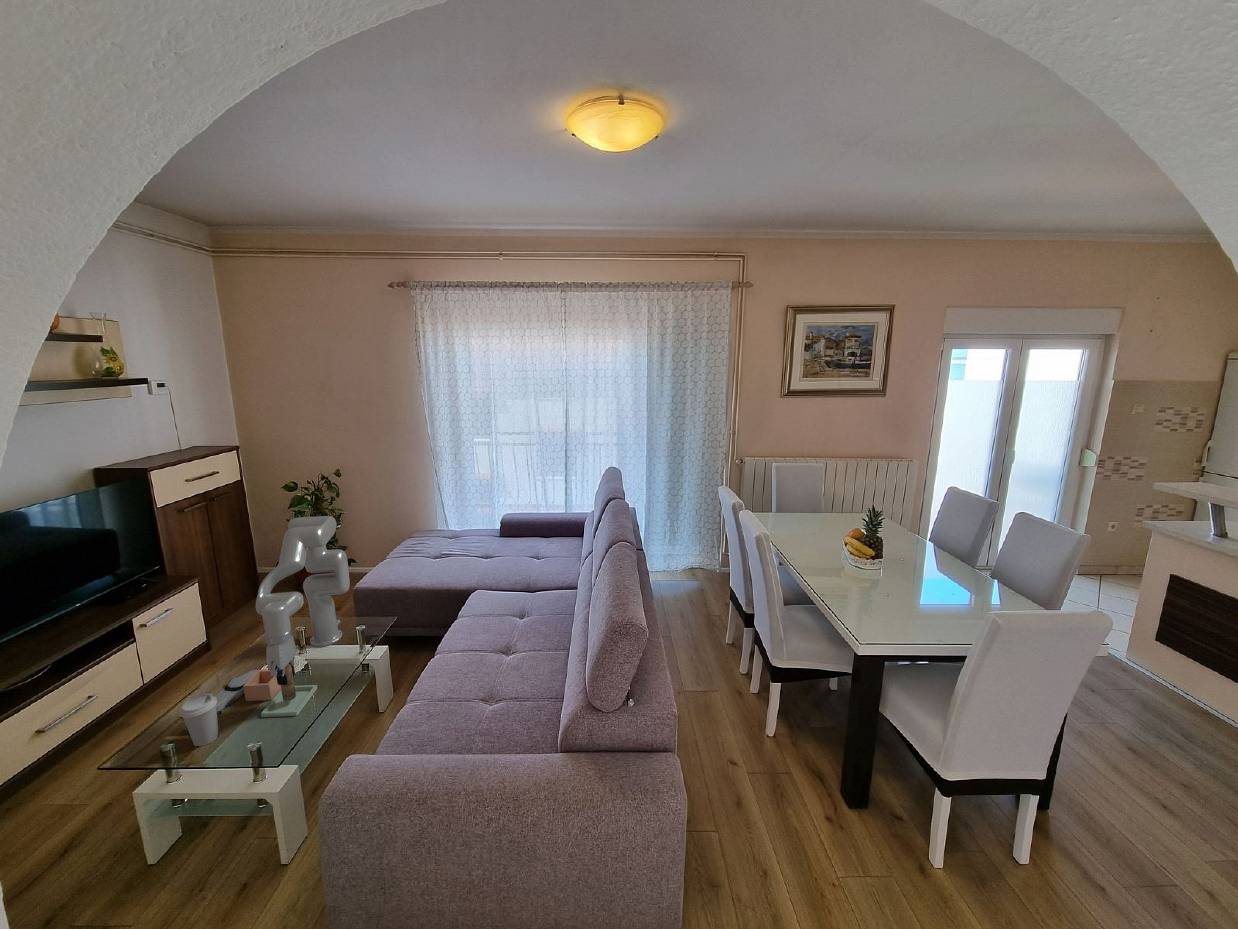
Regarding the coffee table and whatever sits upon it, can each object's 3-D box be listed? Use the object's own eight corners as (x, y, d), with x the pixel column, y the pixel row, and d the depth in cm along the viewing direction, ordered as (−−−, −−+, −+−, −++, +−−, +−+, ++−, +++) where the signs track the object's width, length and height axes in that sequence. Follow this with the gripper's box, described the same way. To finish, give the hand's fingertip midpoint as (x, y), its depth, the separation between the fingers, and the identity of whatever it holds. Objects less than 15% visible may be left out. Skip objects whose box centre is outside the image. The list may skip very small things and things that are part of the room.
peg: (287, 694, 180) (281, 663, 177) (298, 693, 180) (293, 663, 177) (280, 701, 176) (275, 671, 173) (292, 701, 176) (287, 670, 173)
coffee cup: (203, 753, 157) (194, 714, 154) (179, 747, 159) (170, 709, 155) (231, 730, 167) (223, 694, 163) (209, 725, 168) (200, 689, 165)
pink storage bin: (261, 686, 188) (258, 669, 186) (286, 685, 188) (283, 669, 187) (246, 703, 179) (243, 686, 177) (272, 702, 180) (268, 685, 178)
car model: (186, 720, 171) (184, 708, 170) (248, 675, 194) (246, 664, 193) (213, 725, 169) (211, 713, 168) (272, 678, 193) (270, 668, 191)
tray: (284, 691, 185) (283, 686, 185) (317, 690, 186) (316, 685, 186) (261, 719, 172) (260, 713, 171) (297, 718, 173) (296, 712, 172)
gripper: (282, 623, 180) (289, 665, 184) (252, 650, 163) (261, 696, 168) (303, 622, 180) (309, 664, 185) (276, 650, 164) (284, 695, 169)
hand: (286, 679), depth 176 cm, fingers closed on peg, 4 cm apart
